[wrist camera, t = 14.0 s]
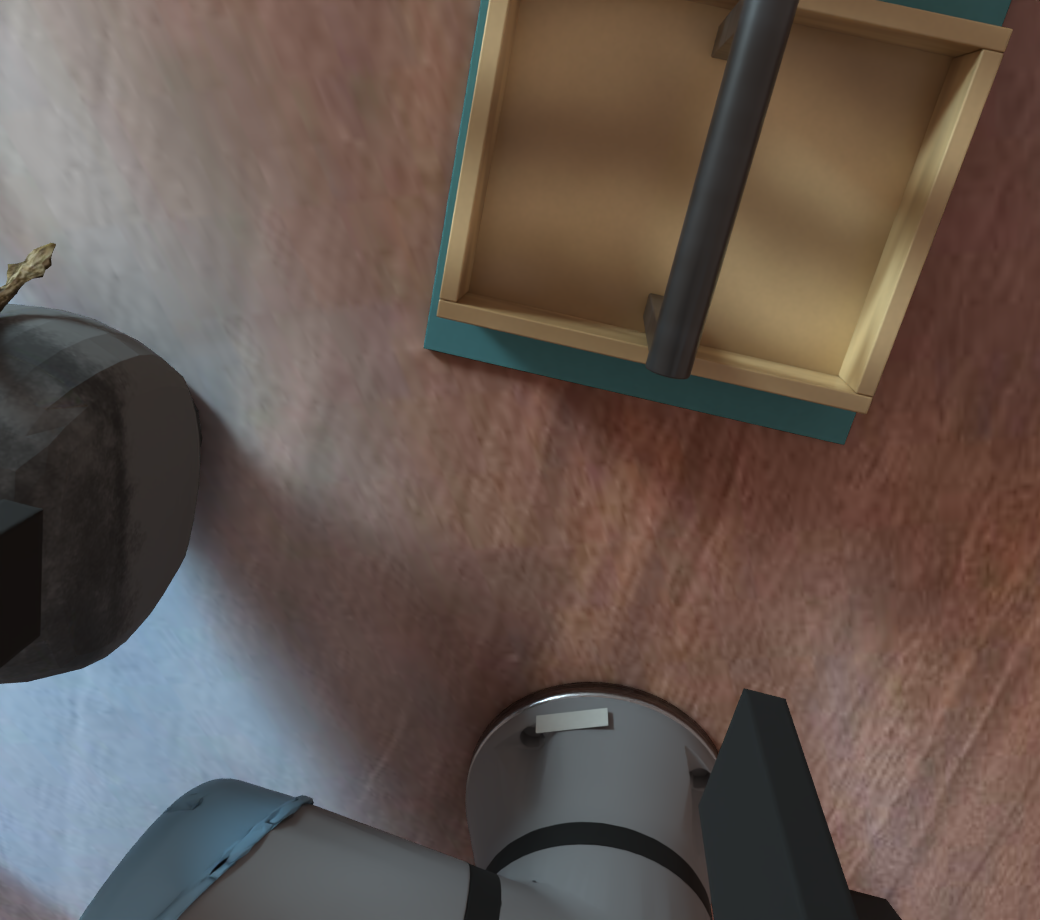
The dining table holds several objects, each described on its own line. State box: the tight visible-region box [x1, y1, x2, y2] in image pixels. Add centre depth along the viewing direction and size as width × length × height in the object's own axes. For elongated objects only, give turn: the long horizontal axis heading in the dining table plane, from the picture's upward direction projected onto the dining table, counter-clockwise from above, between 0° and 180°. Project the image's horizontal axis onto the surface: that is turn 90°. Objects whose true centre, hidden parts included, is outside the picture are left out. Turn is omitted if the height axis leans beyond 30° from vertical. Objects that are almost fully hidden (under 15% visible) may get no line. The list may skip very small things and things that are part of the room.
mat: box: [424, 0, 1011, 445], centre depth 36 cm, size 20×21×1 cm
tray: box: [437, 0, 1013, 414], centre depth 31 cm, size 15×19×11 cm
